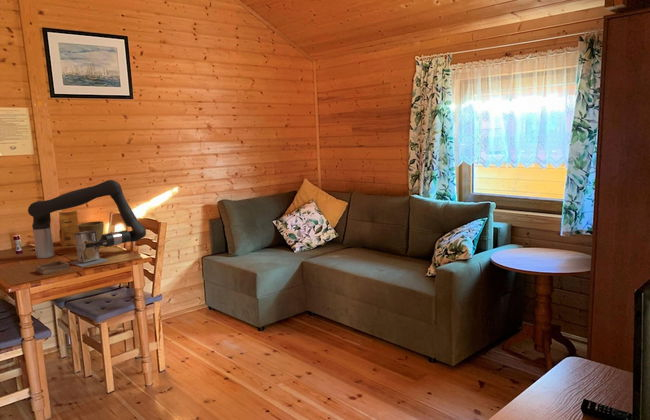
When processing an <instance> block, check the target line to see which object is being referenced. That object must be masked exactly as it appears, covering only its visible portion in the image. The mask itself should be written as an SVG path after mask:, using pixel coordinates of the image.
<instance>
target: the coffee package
mask: <svg viewBox="0 0 650 420" xmlns="http://www.w3.org/2000/svg"><path fill="white" fill-rule="evenodd" d="M78 214H79V213H78V210H77V209H76V210H71V211H58V215H59V217H58V218H59V221H58V222H59V234H58V235H59V236H58V237H59V242H60V246H62V247H66V246H76V242H75V235H74V234H75V233H80V232H79V229H78V226H77V225H78V224H80V223H79V219H78Z"/></svg>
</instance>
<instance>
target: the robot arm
mask: <svg viewBox="0 0 650 420" xmlns="http://www.w3.org/2000/svg"><path fill="white" fill-rule="evenodd" d="M106 196H110V198H111V199H112V200H113V202H114V203H115V205H116V207H117V209H118V212H119V214H120V217H121V218H122V220H123V222H124V224H125V226H126V227H128V228H131V229H132V230H129V231H128V230H121V231H113V232H109V233H103V235H102V236H101V239H99V238H97V240H96V241H95V242H93V243H88V244H85V246H86V248H89V247H100V246H101V247H104V248H108V247H113V246H118V245H120V244H124V243H130V242H131V243H132V242H139V241H140V240H142V239H143V238H145V237H146V235H147V230H146V228H145V227H144V225H143V224H142V223H141V222H140V221H139V220H138V218H137V216H136V215H135V213H134V211H133V210H132V207H130V205H129V203H128V201H127V199H126V197H125V194H124V192H123V189H122V186H121V184H120V183H119V182H118V181H117V180H113V179H109V180H105V181H103V182H100V183H98V184H95V185H93V186H87V187H83V188H80V189H76V190H72V191H69V192H65V193H63V194H61V195H58V196H56V197H53V198H51V199H46V200H36V201H33V202H32V203H30V205H29V206H28V207H27V208H28V209H27V213H28V214H29V216H31V217H32V220H33V221H32V233H33V241H34V249H35V250H34V251H35V254H36V259H46V258H52V257H54V256H55V251H54V243H53V235H52V226H51V221H52V218H51V214H52V213H54V212H59V211H61V210H62V211H63V210H68V209H71V208H75V207H79V206H82V205H85V204H88V203H89V202H91V201H93V200H95V199H98V198H102V197H106ZM101 247H100V248H101Z"/></svg>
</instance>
